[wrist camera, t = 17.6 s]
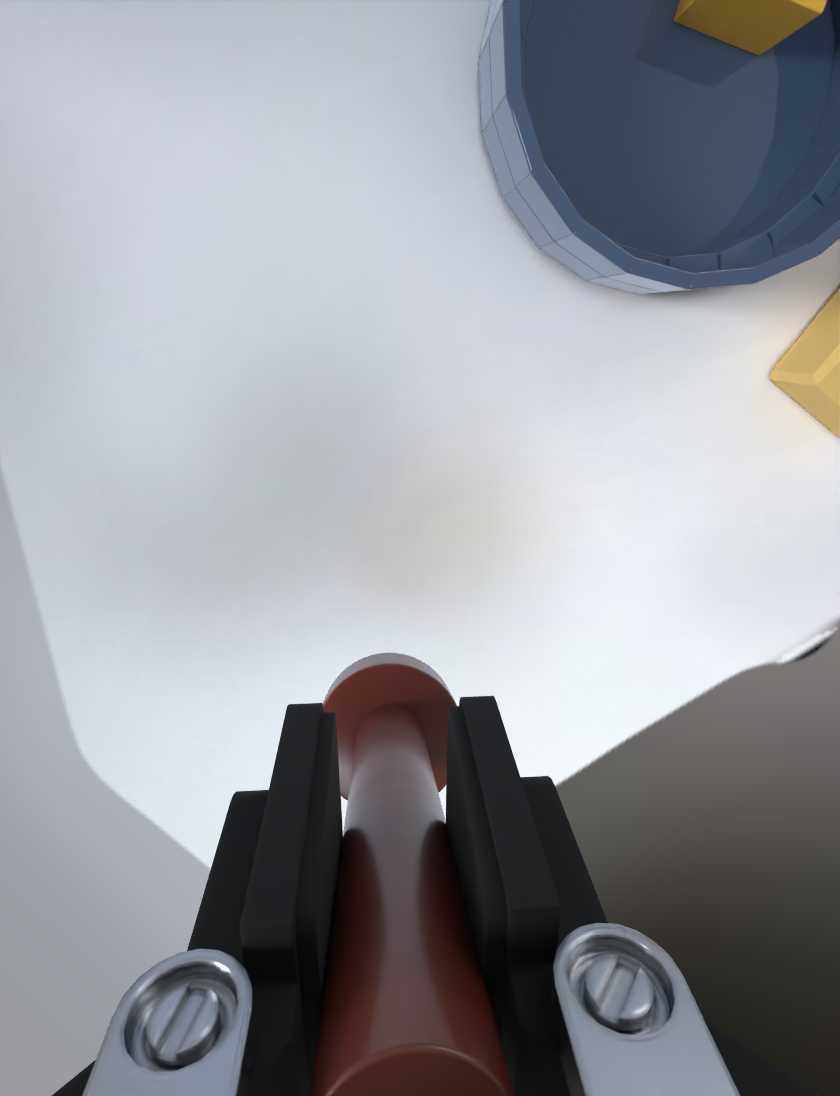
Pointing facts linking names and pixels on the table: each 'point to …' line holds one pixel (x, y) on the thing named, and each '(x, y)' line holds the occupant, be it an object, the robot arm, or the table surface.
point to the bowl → (662, 142)
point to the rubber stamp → (815, 367)
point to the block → (748, 20)
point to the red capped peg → (400, 905)
